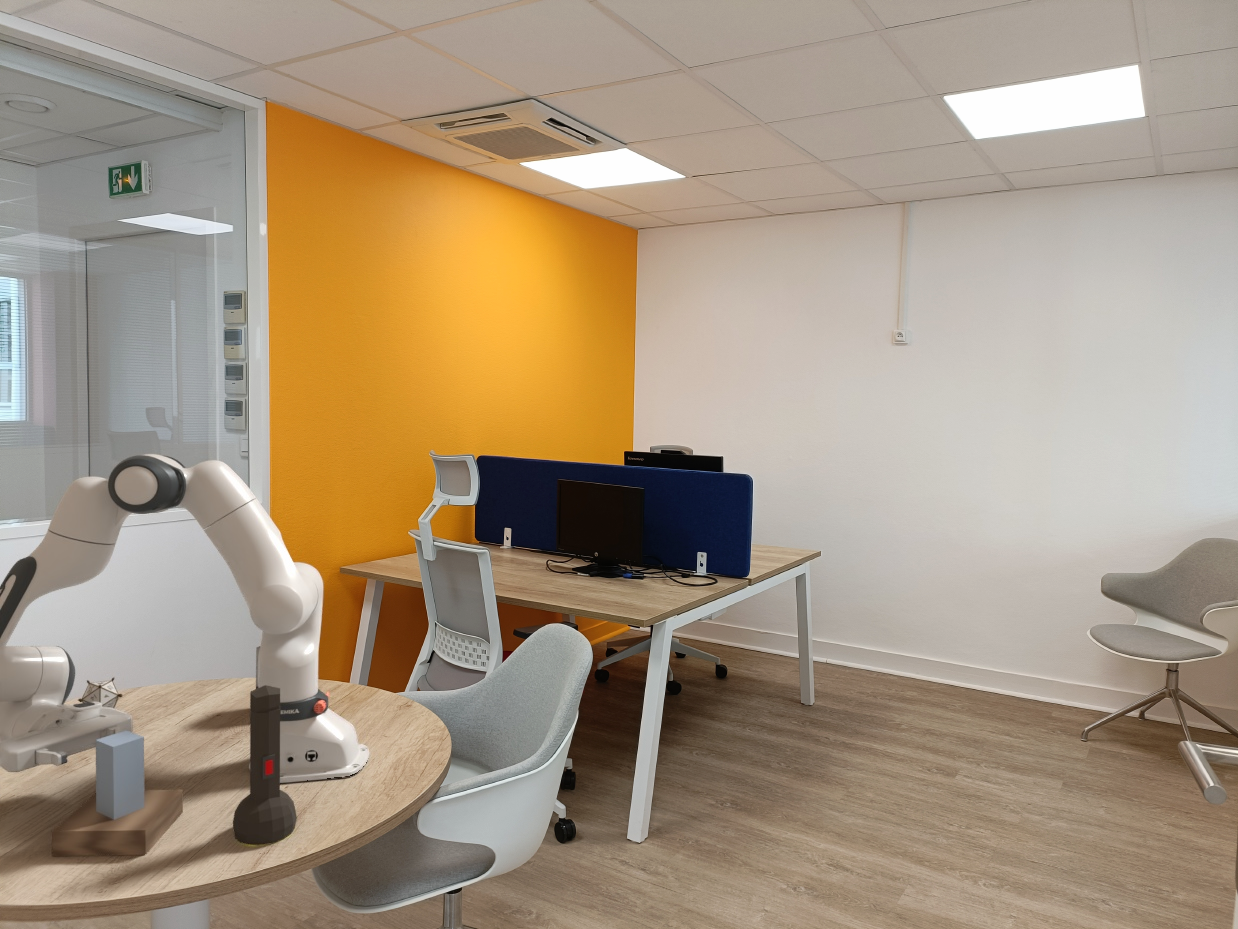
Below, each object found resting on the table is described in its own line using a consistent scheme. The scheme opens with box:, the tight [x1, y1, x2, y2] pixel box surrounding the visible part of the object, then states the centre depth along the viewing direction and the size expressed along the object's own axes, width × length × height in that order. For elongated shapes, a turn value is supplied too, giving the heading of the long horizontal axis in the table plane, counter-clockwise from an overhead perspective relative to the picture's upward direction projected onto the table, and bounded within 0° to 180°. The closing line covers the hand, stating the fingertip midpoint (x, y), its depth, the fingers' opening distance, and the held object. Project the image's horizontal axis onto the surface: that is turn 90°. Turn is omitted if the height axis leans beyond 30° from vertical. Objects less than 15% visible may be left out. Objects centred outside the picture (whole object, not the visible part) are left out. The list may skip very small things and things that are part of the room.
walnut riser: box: [51, 789, 184, 857], centre depth 141 cm, size 14×14×4 cm
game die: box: [77, 676, 123, 709], centre depth 191 cm, size 9×8×10 cm
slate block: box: [95, 730, 145, 820], centre depth 140 cm, size 5×5×12 cm
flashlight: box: [232, 685, 298, 846], centre depth 142 cm, size 10×25×10 cm
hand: (92, 750), depth 144 cm, fingers open, 8 cm apart
